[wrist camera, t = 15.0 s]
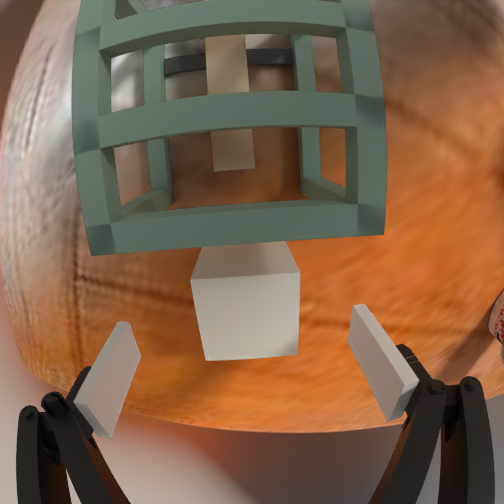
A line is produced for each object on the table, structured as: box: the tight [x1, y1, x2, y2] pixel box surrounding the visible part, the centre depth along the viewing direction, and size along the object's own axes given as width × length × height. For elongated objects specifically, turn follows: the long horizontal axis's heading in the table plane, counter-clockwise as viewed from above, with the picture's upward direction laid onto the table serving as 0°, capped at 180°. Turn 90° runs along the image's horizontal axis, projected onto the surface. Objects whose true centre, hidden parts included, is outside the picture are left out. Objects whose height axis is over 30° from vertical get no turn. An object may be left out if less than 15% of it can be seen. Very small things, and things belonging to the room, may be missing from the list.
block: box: [190, 241, 300, 361], centre depth 19 cm, size 6×6×6 cm
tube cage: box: [72, 0, 387, 256], centre depth 12 cm, size 13×11×10 cm
